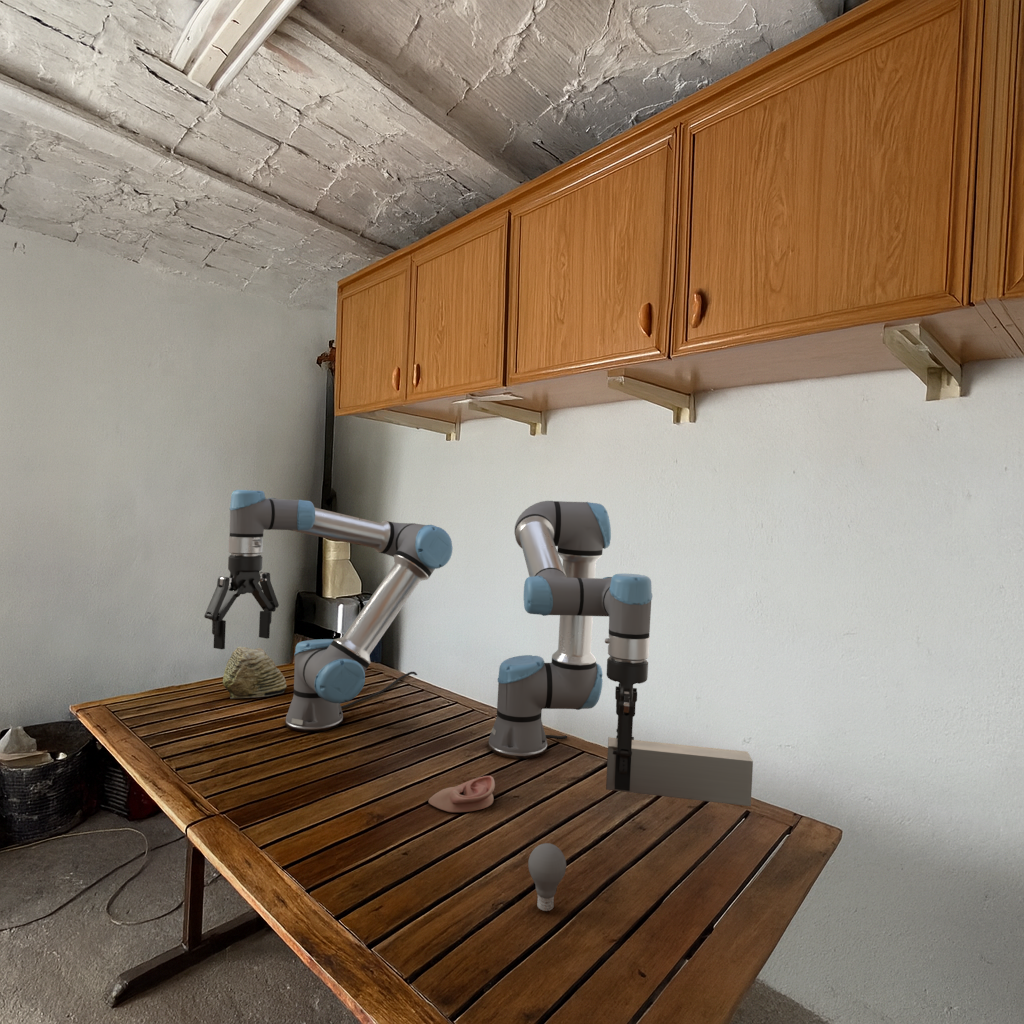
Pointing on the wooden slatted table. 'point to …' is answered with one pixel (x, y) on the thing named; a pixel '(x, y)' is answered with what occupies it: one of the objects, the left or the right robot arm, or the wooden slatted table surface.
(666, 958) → the wooden slatted table surface
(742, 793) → the bar
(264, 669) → the fossil
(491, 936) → the wooden slatted table surface
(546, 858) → the light bulb
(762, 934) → the wooden slatted table surface
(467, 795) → the anatomical model
